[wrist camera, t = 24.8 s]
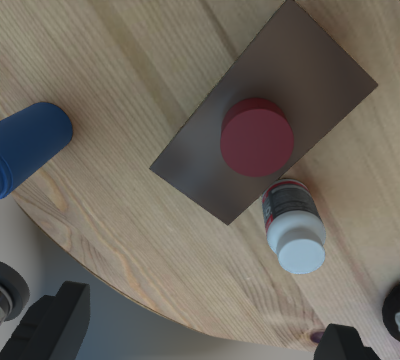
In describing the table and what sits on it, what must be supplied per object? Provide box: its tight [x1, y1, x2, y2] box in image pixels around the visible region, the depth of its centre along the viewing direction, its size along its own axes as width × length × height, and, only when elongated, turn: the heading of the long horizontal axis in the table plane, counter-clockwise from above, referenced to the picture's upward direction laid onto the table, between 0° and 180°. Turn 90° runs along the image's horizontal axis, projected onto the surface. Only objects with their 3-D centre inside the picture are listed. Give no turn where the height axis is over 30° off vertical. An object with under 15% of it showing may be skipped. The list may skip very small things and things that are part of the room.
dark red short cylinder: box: [220, 97, 294, 177], centre depth 25 cm, size 5×5×3 cm
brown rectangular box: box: [149, 0, 378, 225], centre depth 30 cm, size 17×9×7 cm, turn 141°
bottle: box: [0, 102, 73, 199], centre depth 28 cm, size 5×5×16 cm
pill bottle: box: [262, 179, 326, 274], centre depth 33 cm, size 5×5×10 cm
